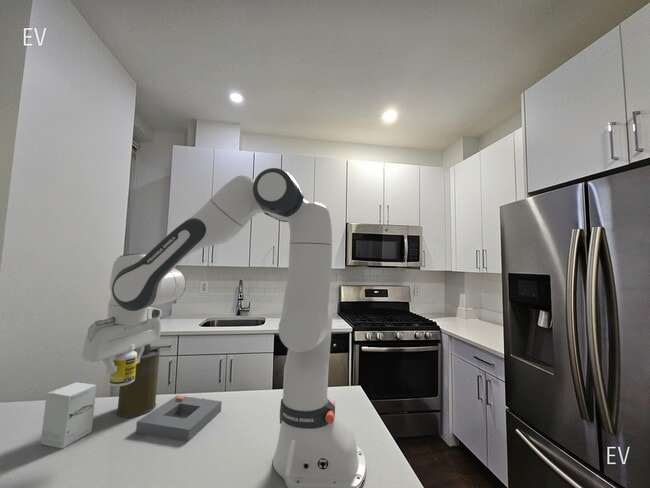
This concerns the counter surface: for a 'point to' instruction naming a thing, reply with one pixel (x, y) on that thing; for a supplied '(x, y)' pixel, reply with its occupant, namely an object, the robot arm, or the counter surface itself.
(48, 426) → the supplement box
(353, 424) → the counter surface
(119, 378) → the supplement bottle
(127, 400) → the canister
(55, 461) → the counter surface
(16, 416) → the counter surface
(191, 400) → the socket block
